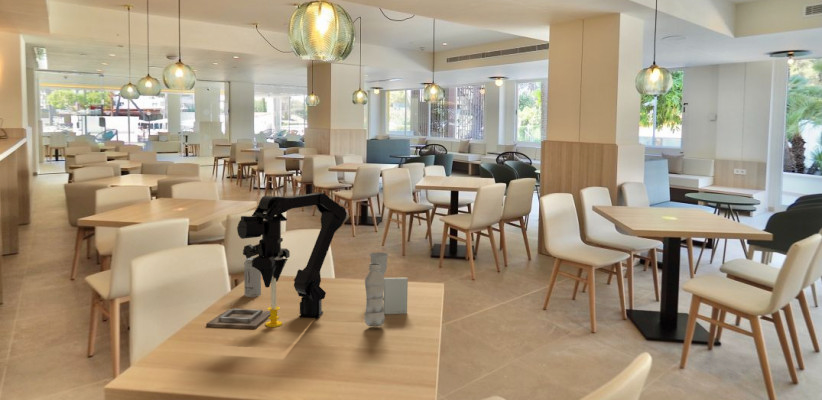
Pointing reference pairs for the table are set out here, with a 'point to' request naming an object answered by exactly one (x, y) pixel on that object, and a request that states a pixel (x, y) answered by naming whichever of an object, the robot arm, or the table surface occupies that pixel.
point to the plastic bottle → (374, 296)
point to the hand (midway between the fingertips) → (271, 284)
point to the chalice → (380, 261)
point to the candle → (273, 307)
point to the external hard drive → (395, 295)
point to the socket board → (240, 319)
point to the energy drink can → (251, 279)
